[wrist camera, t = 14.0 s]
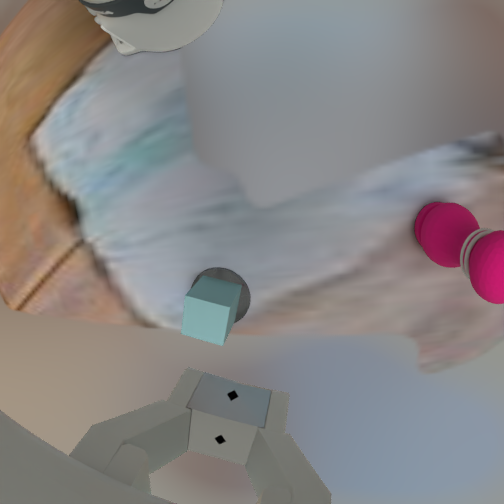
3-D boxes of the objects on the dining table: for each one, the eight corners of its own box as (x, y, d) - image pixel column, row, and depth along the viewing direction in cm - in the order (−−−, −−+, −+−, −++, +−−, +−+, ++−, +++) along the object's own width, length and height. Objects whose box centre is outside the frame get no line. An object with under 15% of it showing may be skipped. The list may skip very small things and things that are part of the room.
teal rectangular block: (198, 309, 43) (181, 333, 37) (202, 275, 42) (185, 295, 35) (235, 319, 43) (223, 345, 36) (241, 285, 41) (229, 307, 35)
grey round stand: (189, 314, 44) (174, 333, 39) (195, 261, 42) (180, 276, 37) (244, 329, 44) (235, 351, 38) (255, 276, 41) (247, 293, 36)
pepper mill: (408, 254, 37) (478, 333, 18) (412, 196, 35) (499, 234, 16) (456, 255, 36) (543, 326, 17) (462, 199, 34) (563, 238, 15)
